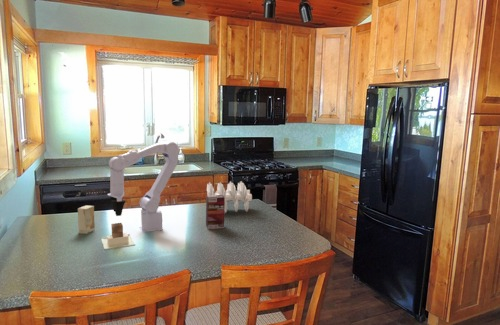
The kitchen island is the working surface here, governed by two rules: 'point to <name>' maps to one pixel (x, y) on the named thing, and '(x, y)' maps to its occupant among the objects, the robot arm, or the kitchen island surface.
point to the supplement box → (215, 211)
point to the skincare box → (86, 219)
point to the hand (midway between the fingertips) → (117, 213)
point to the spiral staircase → (232, 194)
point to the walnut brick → (117, 230)
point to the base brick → (117, 239)
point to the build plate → (106, 246)
